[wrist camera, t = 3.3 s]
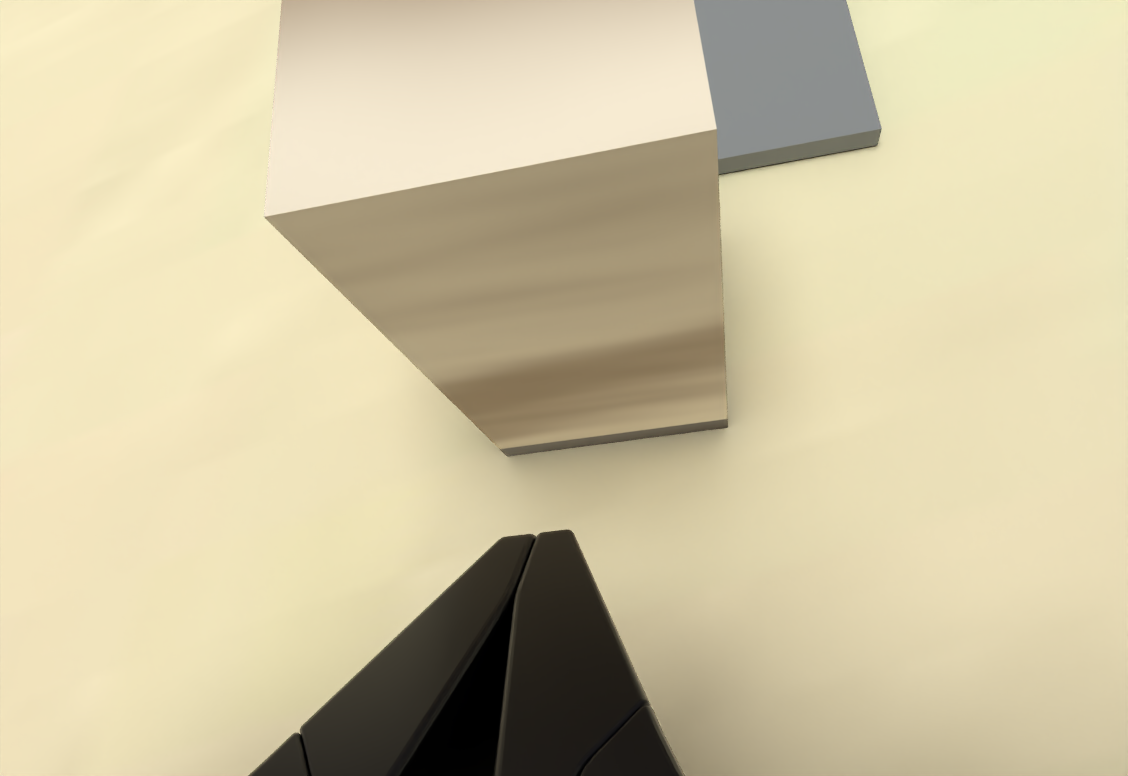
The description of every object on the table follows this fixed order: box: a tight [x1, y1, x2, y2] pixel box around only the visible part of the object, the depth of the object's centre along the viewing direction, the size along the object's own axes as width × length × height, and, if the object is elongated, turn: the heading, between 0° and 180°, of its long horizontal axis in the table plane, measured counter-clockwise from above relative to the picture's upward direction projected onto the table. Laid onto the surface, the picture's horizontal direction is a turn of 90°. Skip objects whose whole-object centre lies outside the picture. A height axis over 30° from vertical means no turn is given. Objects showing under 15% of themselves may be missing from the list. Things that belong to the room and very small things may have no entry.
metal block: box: [264, 0, 728, 456], centre depth 14 cm, size 5×5×10 cm
